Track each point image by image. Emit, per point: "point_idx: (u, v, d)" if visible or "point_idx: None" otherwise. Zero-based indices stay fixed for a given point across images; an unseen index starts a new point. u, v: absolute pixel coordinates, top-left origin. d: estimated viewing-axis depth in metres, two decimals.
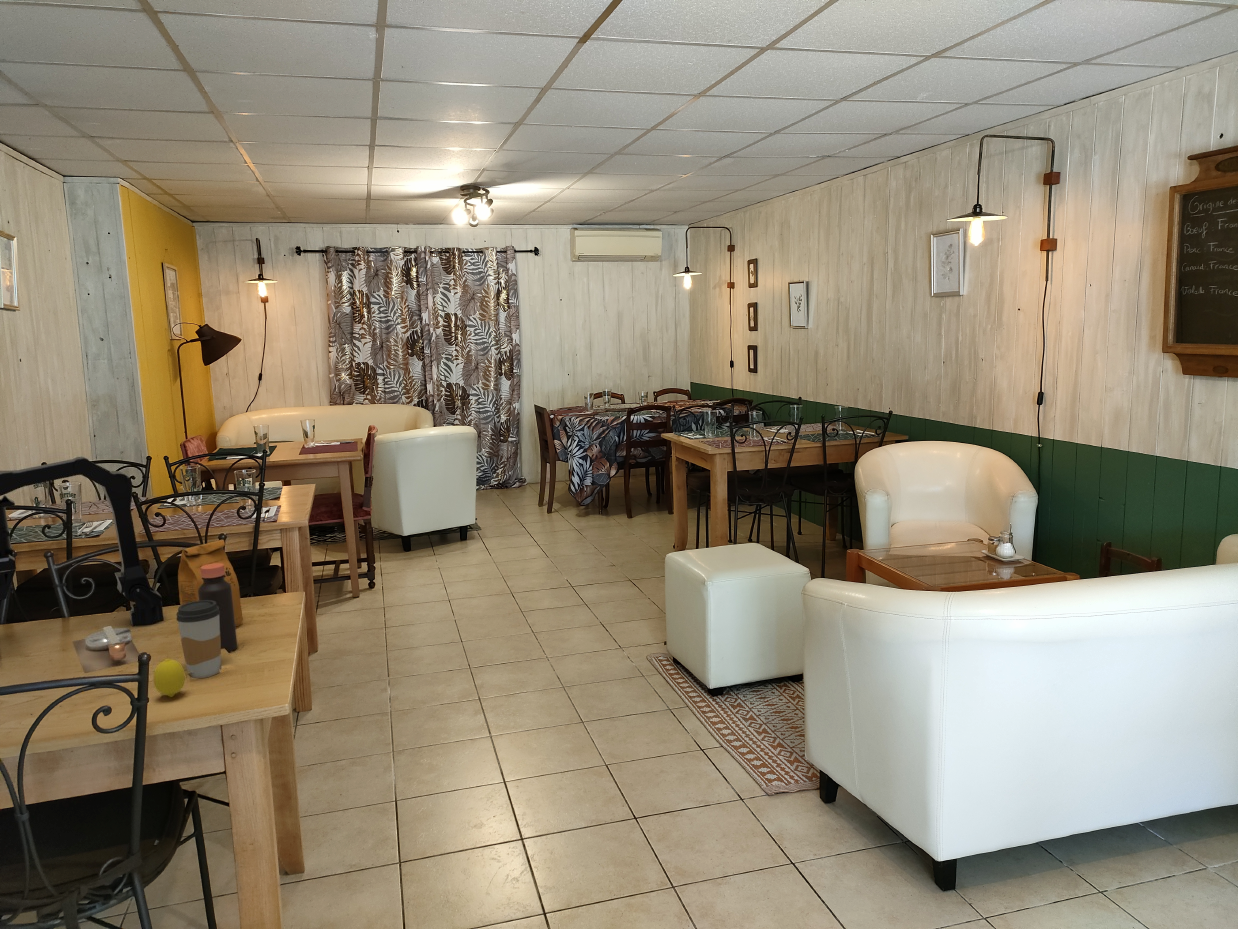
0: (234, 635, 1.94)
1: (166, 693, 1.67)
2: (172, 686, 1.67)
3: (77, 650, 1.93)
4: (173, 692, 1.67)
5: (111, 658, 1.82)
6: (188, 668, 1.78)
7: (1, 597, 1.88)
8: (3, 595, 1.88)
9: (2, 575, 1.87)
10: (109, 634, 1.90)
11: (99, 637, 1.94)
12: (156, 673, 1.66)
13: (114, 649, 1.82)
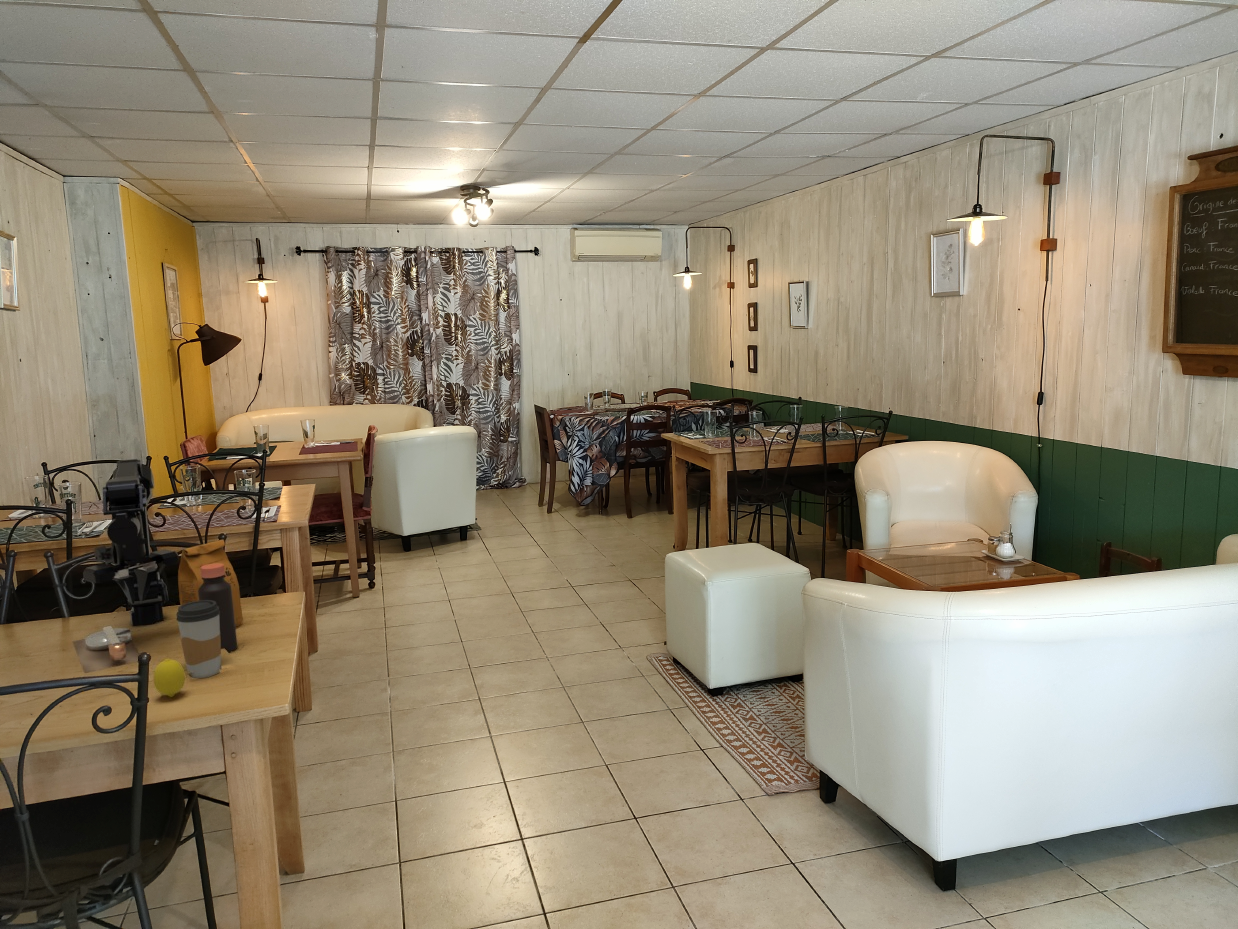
0: (234, 635, 1.94)
1: (166, 693, 1.67)
2: (172, 686, 1.67)
3: (77, 650, 1.93)
4: (173, 692, 1.67)
5: (111, 658, 1.82)
6: (188, 668, 1.78)
7: (130, 600, 1.91)
8: (130, 599, 1.91)
9: None
10: (109, 634, 1.90)
11: (99, 637, 1.94)
12: (156, 673, 1.66)
13: (114, 649, 1.82)
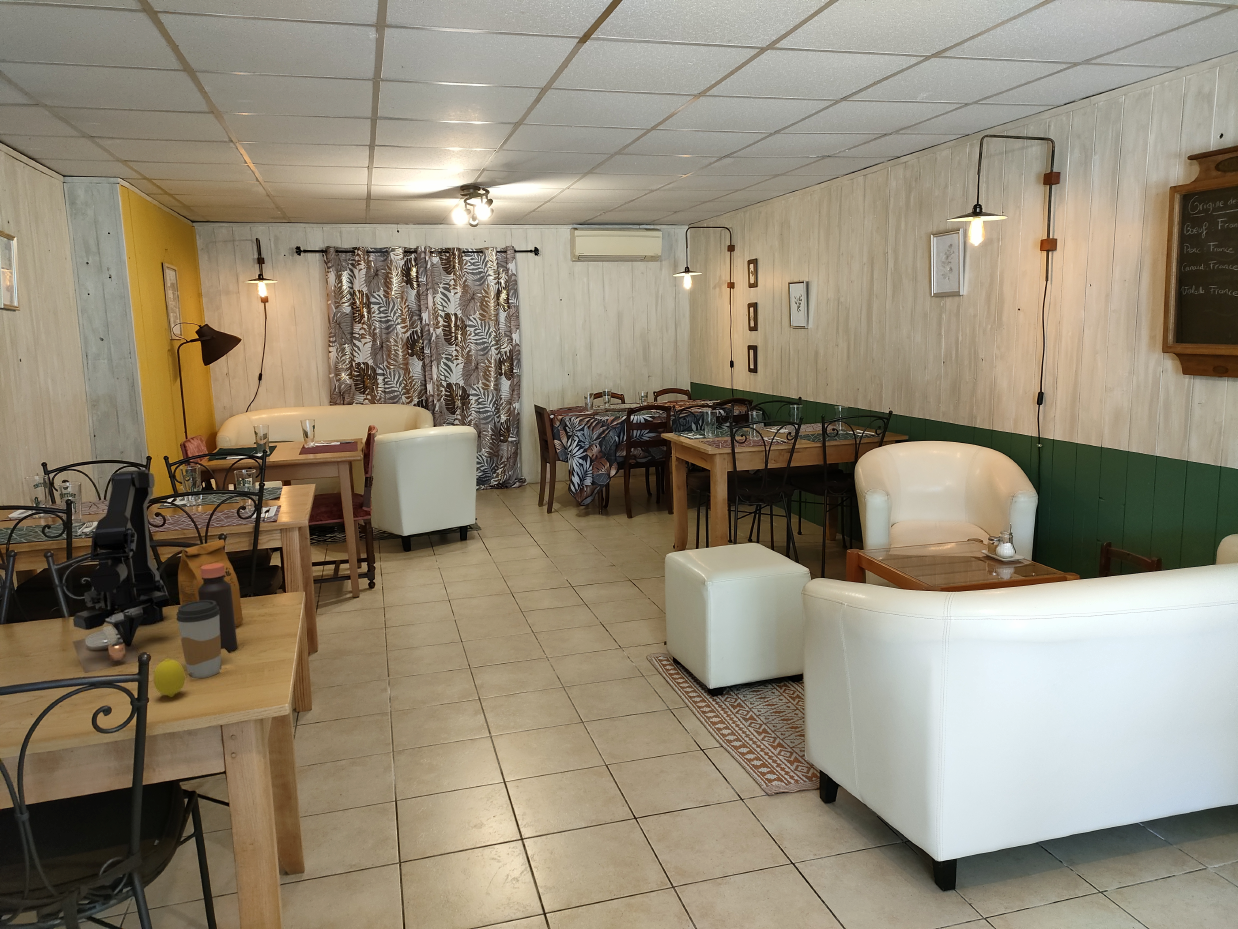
0: (234, 635, 1.94)
1: (166, 693, 1.67)
2: (172, 686, 1.67)
3: (77, 650, 1.93)
4: (173, 692, 1.67)
5: (110, 658, 1.82)
6: (188, 668, 1.78)
7: (126, 643, 1.91)
8: (125, 642, 1.90)
9: None
10: (109, 634, 1.90)
11: (99, 637, 1.94)
12: (156, 673, 1.66)
13: (113, 649, 1.82)
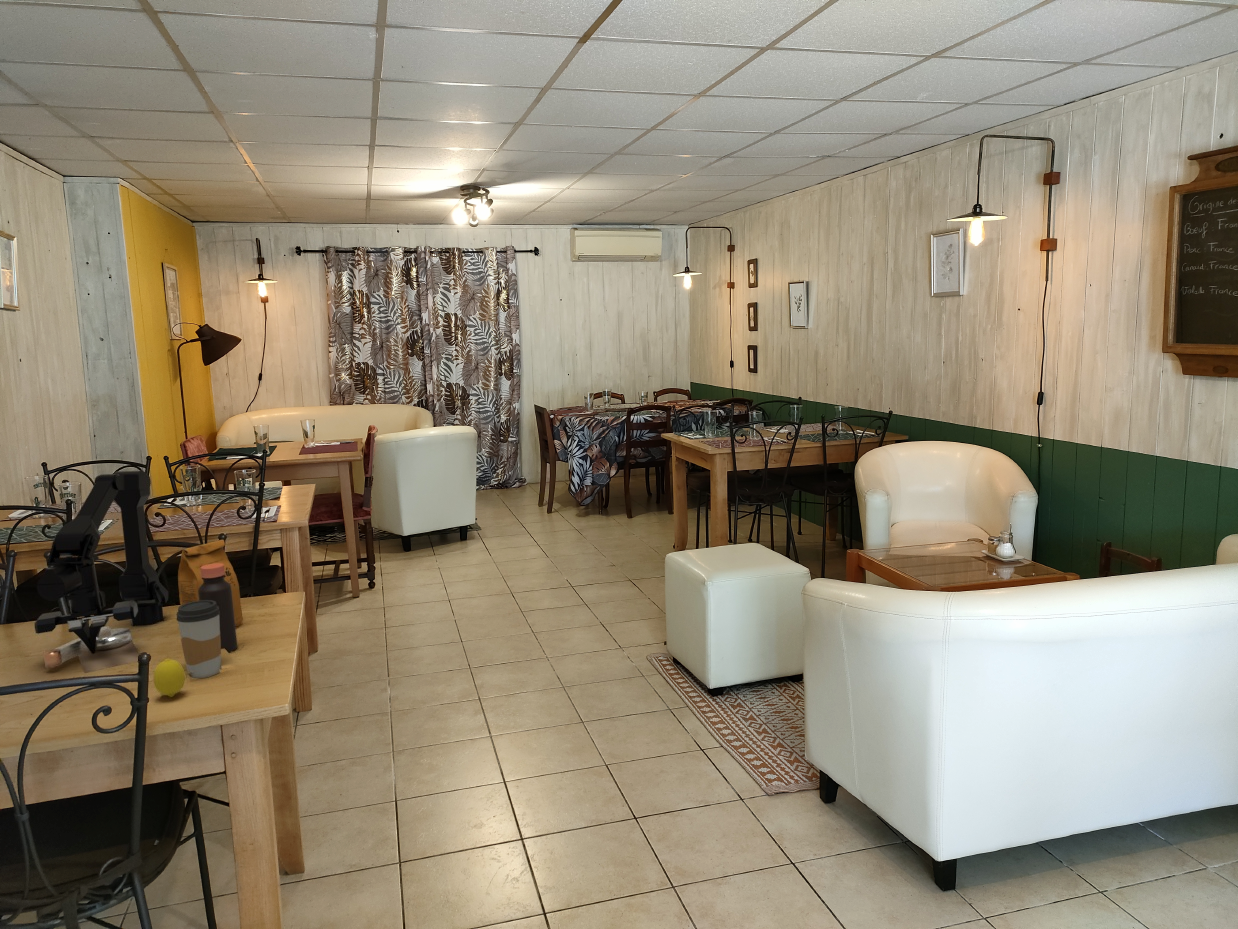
0: (234, 635, 1.94)
1: (166, 693, 1.67)
2: (172, 686, 1.67)
3: None
4: (173, 692, 1.67)
5: None
6: (188, 668, 1.78)
7: None
8: None
9: None
10: None
11: None
12: (156, 673, 1.66)
13: (44, 656, 1.79)
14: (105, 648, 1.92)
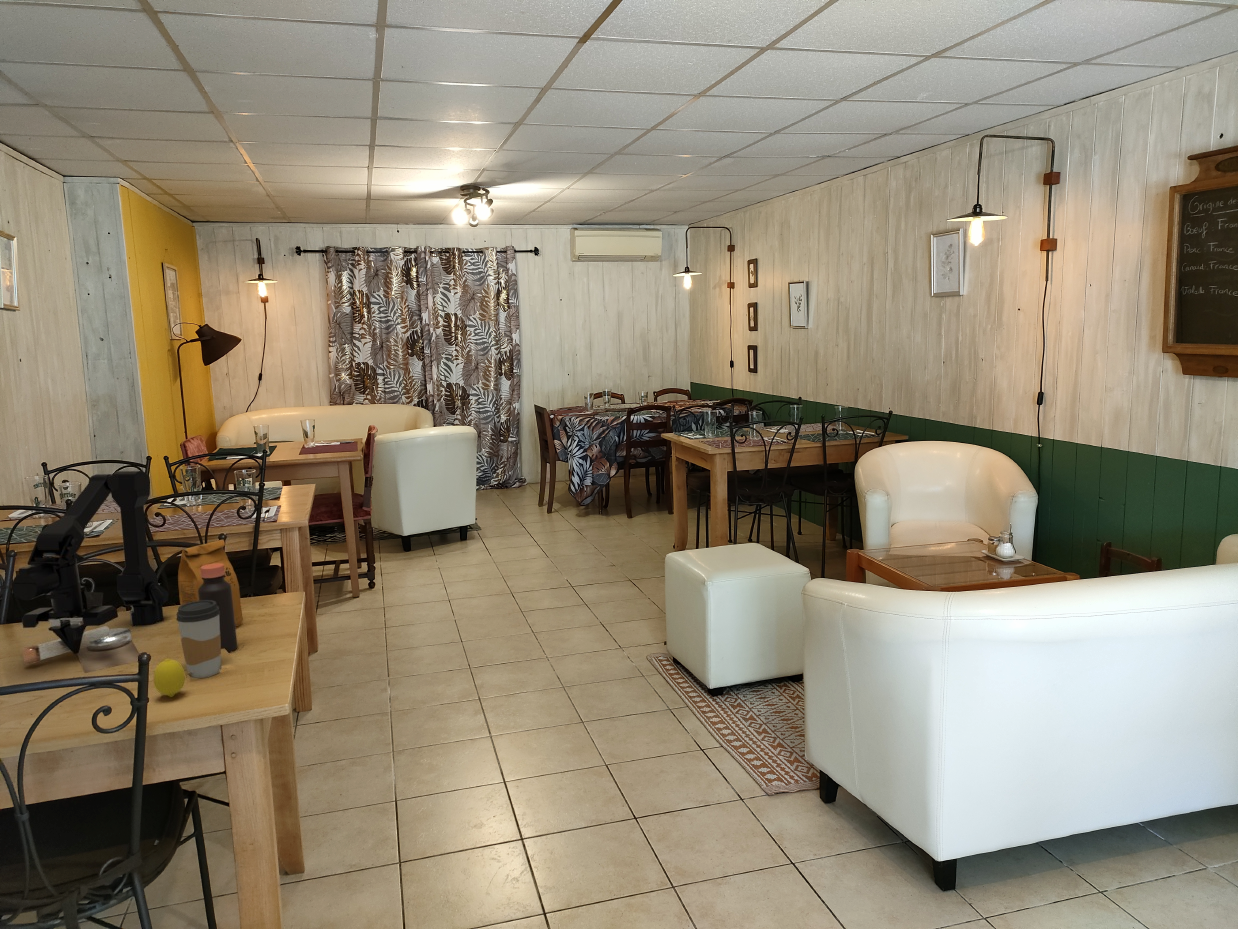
0: (234, 635, 1.94)
1: (166, 693, 1.67)
2: (172, 686, 1.67)
3: None
4: (173, 692, 1.67)
5: None
6: (188, 668, 1.78)
7: None
8: None
9: None
10: None
11: None
12: (156, 673, 1.66)
13: None
14: (95, 649, 1.91)
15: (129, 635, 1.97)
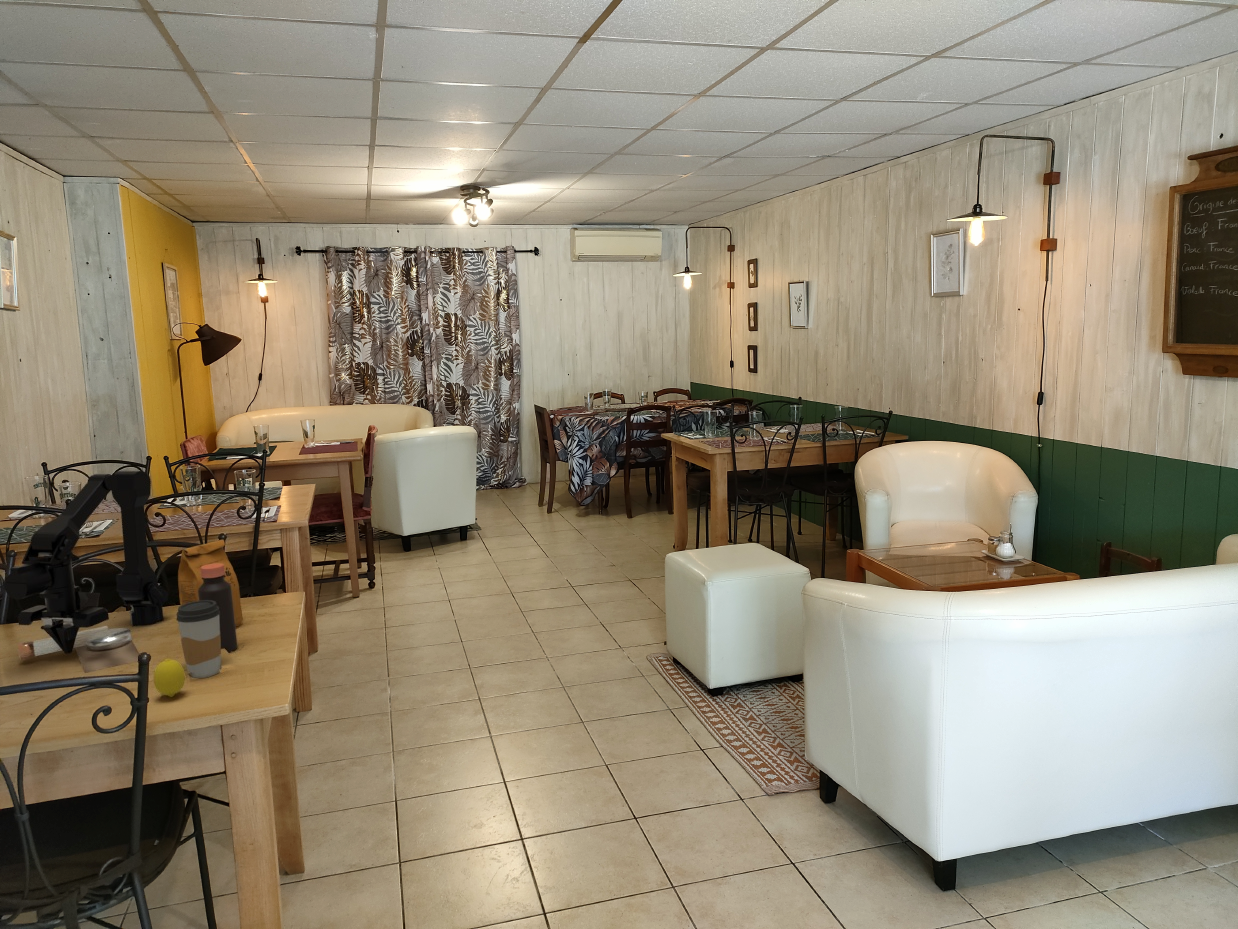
0: (234, 635, 1.94)
1: (166, 693, 1.67)
2: (172, 686, 1.67)
3: (77, 650, 1.93)
4: (173, 692, 1.67)
5: None
6: (188, 668, 1.78)
7: None
8: None
9: None
10: None
11: None
12: (156, 673, 1.66)
13: None
14: (91, 649, 1.92)
15: (126, 637, 1.95)
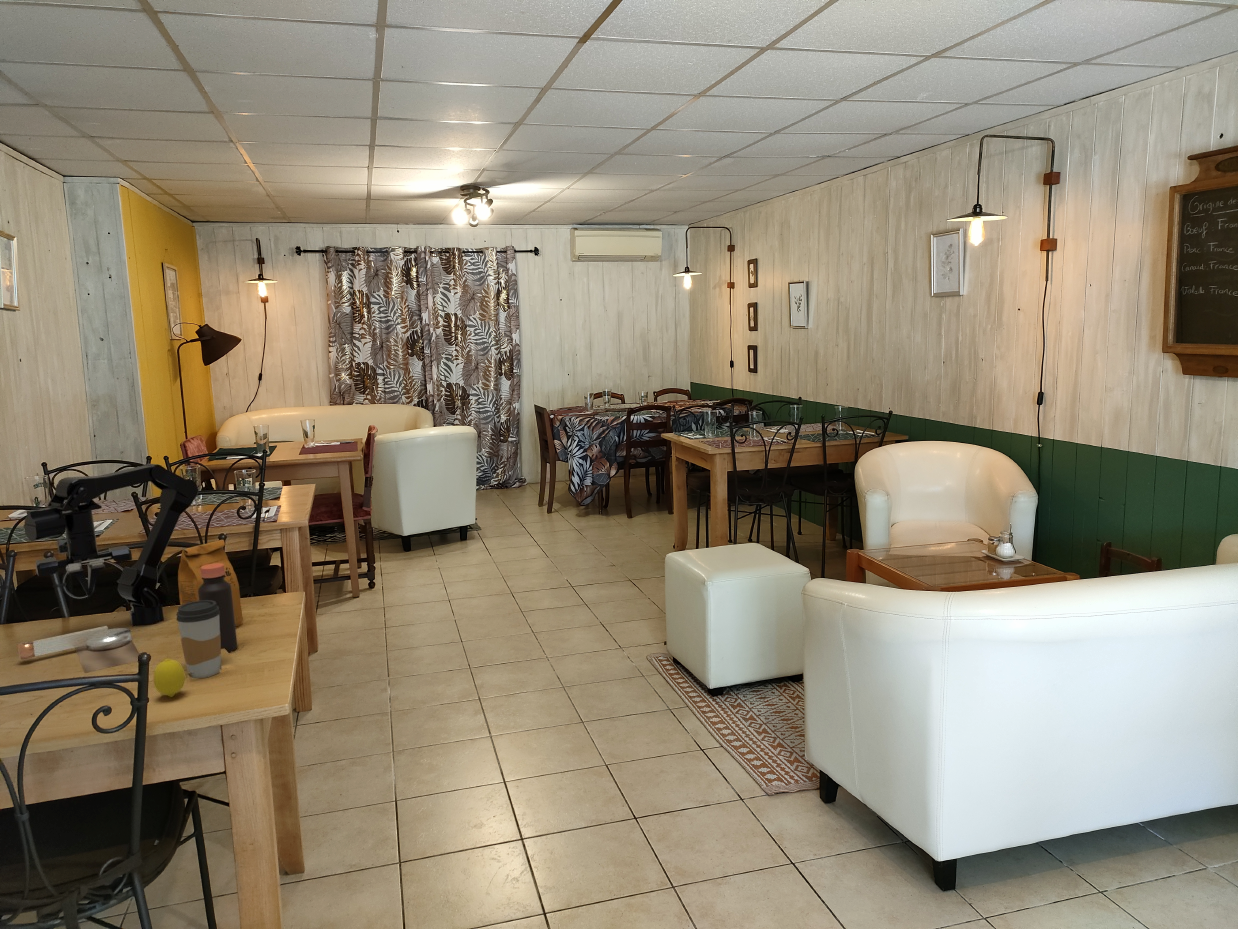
0: (234, 635, 1.94)
1: (166, 693, 1.67)
2: (172, 686, 1.67)
3: (77, 650, 1.93)
4: (173, 692, 1.67)
5: None
6: (188, 668, 1.78)
7: None
8: None
9: None
10: (72, 633, 1.91)
11: None
12: (156, 673, 1.66)
13: None
14: (91, 649, 1.92)
15: (126, 637, 1.95)
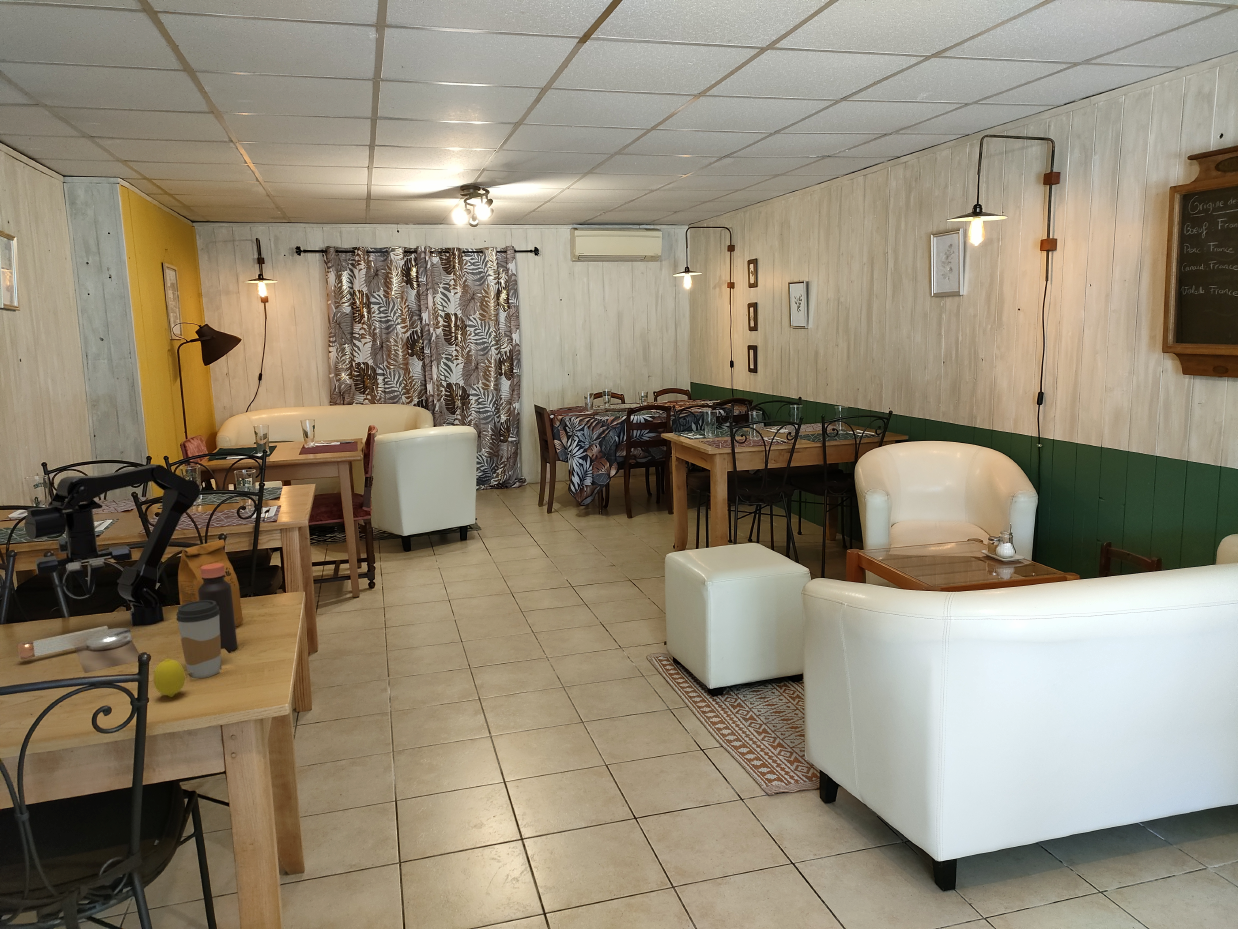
0: (234, 635, 1.94)
1: (166, 693, 1.67)
2: (172, 686, 1.67)
3: (77, 650, 1.93)
4: (173, 692, 1.67)
5: None
6: (188, 668, 1.78)
7: None
8: (85, 591, 1.99)
9: None
10: (72, 633, 1.91)
11: None
12: (156, 673, 1.66)
13: None
14: (91, 649, 1.92)
15: (126, 637, 1.95)
